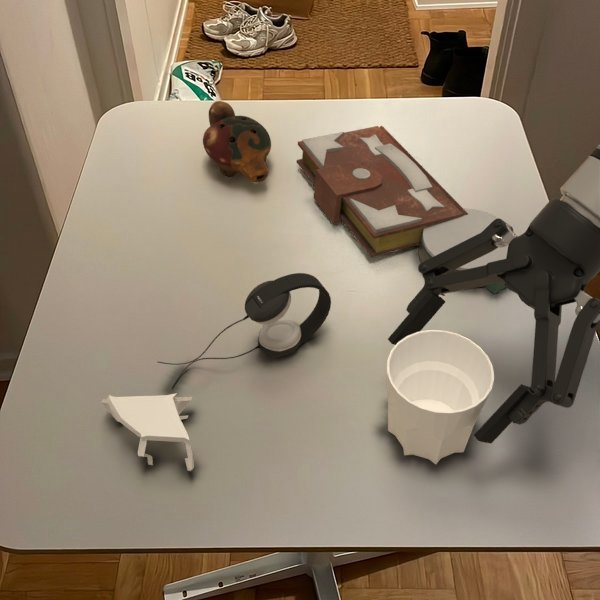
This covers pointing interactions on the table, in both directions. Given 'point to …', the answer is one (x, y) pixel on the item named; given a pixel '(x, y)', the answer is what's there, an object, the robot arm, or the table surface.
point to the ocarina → (236, 143)
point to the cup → (436, 392)
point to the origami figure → (152, 420)
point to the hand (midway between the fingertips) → (436, 389)
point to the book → (375, 188)
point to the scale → (461, 240)
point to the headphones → (280, 315)
